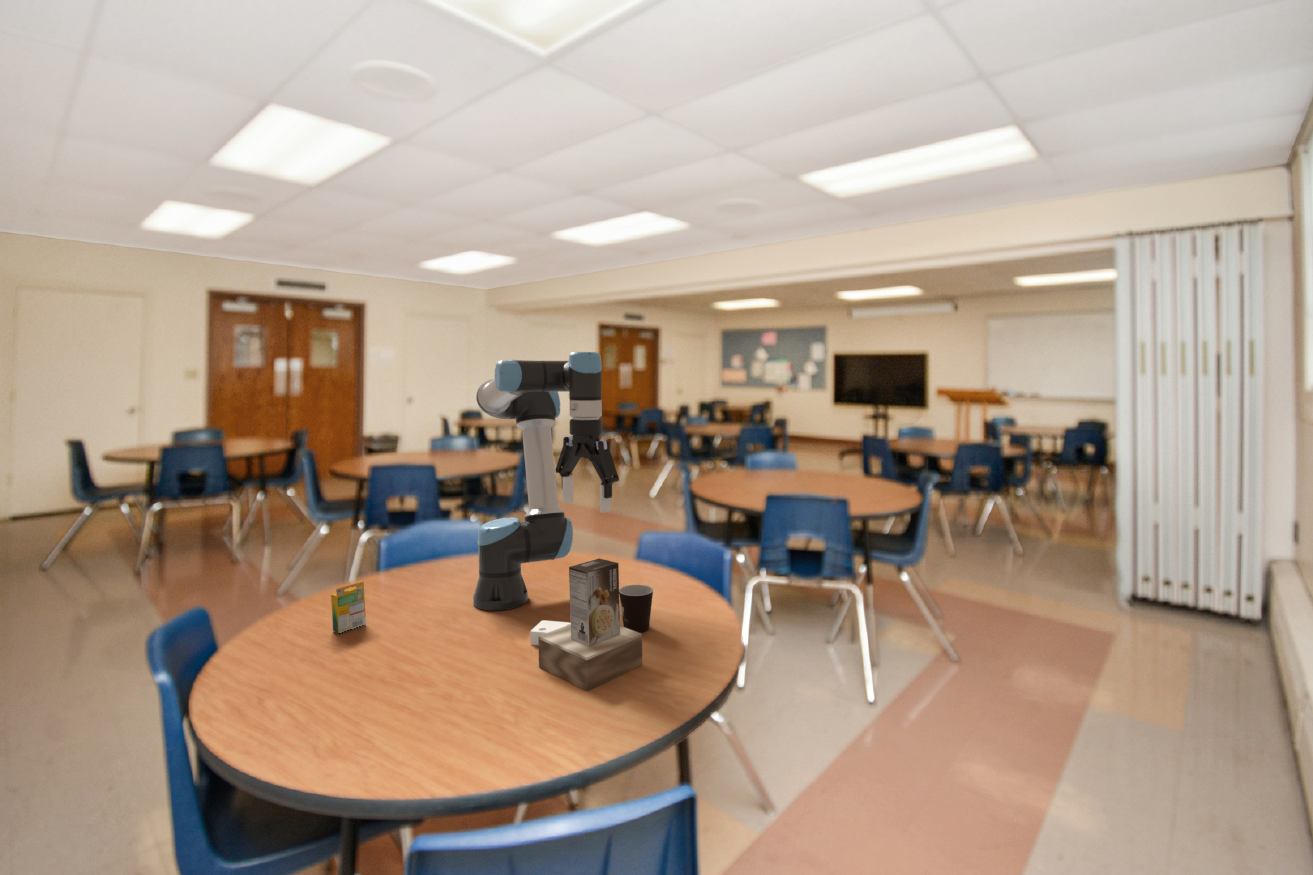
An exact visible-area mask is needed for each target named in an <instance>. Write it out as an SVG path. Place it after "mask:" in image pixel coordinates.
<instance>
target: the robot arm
mask: <svg viewBox="0 0 1313 875" xmlns="http://www.w3.org/2000/svg"><path fill="white" fill-rule="evenodd" d="M602 371H603V366H602V356H601V354H600V353H599V352H596V351H572V352H570V354H569V355H568V360H521V359H520V360H517V359H516V360H515V359H506V360H499V361H497V362H496V364H495V368H494V378H493V379H489V380H486V381H484V382H483V383H482V384H481V385H480V386H479V387H478V389H477V392H476V397H475V398H476V399H475V400H476V403H477V405H478V407H479V409H480V410H481V411H482V412H484V413H485V414H487V415H488V416H490V417H493V418H496V419H501V420H515V422H516V427H517V428H518V429H519V430H521V432H522V443H523V453H524V455H523V456H524V464H525V466H524V467H525V477H526V487H527V488H526V489H527V500H528V510H527V512H526V514H525V515H524V521H523V522H521V521H520V519H519V518H517V517H503V518H501V517H500V518H496V519H494V520H490V521H487V522H485V523H484V524H482V525H481V526H480V527H479V528H478V532H477V541H476V542H477V543H476V544H477V549H478V551H477V552H478V554H477V555H478V579H477V582H476V587H475V589H474V593H473V596H472V598H473V602H472V603H473V606H474V608H477V609H479V610H483V611H505V610H511V609H515V608H518V607H521V606H523V605H525V604H526V603H527V602H528V601H529V600H528V599H529V591H528V588H527V587H526V586H527V585H526V583H525V581H524V579H523V575H522V564H527V563H535V562H543V561H550V560H551V561H555V560H556V559H563V558H565V557H567V556H568V555H569V554H570V552H571V548H572V546H573V540H574V535H573V534H574V529H573V524H572V520H571V519H570V518H569V517H568V516H567V517H565V511H564V510H563V509H561V508H560V506H559V500H558V489H557V488H558V487H557V477H556V474H559V475H560V476H561V489H562V504H564V505H565V504H566V505H567V504H571V503H574V476H573V475H574V474H573V471H574V469H575V468H576V466H577V465H578V464H579V461H580V459H581V458H584V459H588V461H589V462H591V464H592V466H593V468H594V469H595V472H596V474H597V476H598V477H599V479H600V481H601V483H600V484H599V513H602V514H603V513H607V512H611V511H612V509H611V508H612V506H611V503H612V500H611V499H612V497H613V485H614V483H617V482H619V481H620V478H619V475H618V471H617V469H616V466H615V463H614V459H613V456H612V453H611V449H610V441H609V440H606V439H605V440H600V435H602V432H603V430H602V429H603V428H602V426H603V421H602V420H601V418H602V416H603V413H602V412H603V411H602V409H603V406H602V405H603V404H602V402H603V400H602V390H603V389H602V382H603V381H602V376H603V375H602V373H603V372H602ZM559 392H561V393H562V392H564V393H565V392H567V393H568V392H569V396H568V397H569V416H570V417H571V419H569V434H570V435H571V436H564V437H563V438H562V448H561V452H560V454H559V458H558V460H557V463H556V467H555V456H554V447H553V436H552V427H553V426H554V425H555V424H556V419H557V418H559V416H560V415H561V399H560V395H559Z"/></svg>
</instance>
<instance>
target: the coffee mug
mask: <svg viewBox="0 0 1313 875" xmlns="http://www.w3.org/2000/svg"><path fill="white" fill-rule="evenodd" d="M653 593H654V588H653V587H651V586H648V585H644V584H628V585H624V586H622V587H619V604H620V609H621V616H622V624H623V625H622V627H625V628H628V629H630V630H633V631H636V632H638V633H641V634H644V633H647V632H648V631H649V630H650V623H651V612H652V604H653V595H654V594H653Z"/></svg>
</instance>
